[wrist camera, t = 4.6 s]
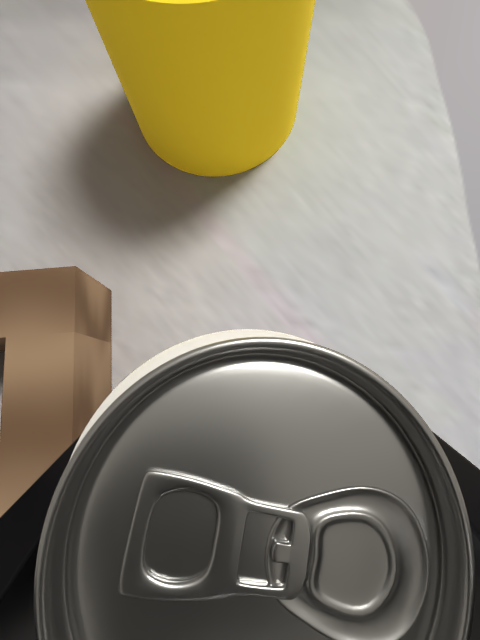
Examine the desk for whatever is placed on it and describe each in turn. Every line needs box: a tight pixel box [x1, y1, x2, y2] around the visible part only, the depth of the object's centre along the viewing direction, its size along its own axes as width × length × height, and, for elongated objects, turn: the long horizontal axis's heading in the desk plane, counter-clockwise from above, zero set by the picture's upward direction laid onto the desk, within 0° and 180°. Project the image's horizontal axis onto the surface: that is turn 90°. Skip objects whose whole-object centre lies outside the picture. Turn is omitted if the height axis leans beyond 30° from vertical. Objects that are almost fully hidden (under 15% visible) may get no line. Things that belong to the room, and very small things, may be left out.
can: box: [34, 329, 476, 640], centre depth 10 cm, size 6×6×12 cm
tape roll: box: [85, 0, 315, 177], centre depth 17 cm, size 10×10×9 cm
